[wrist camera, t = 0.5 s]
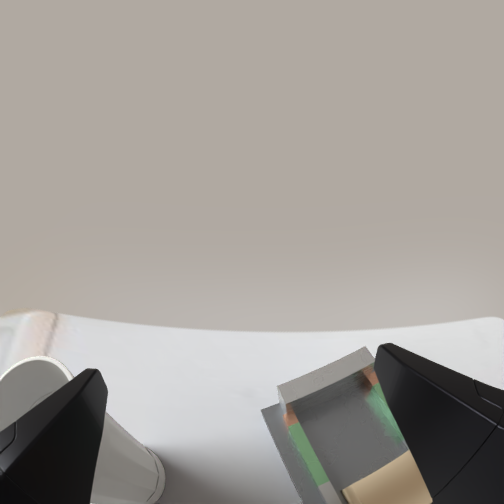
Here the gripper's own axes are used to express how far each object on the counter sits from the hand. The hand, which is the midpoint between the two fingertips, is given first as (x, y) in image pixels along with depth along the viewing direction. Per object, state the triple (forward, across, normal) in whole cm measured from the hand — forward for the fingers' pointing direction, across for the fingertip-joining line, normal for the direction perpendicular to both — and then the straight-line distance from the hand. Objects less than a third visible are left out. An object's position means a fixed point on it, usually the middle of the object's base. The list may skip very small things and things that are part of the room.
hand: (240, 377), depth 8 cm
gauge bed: (-1, -9, +14) cm, 17 cm away
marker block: (-1, -8, +13) cm, 16 cm away
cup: (+4, +10, +15) cm, 19 cm away
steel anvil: (+8, -6, +10) cm, 15 cm away
